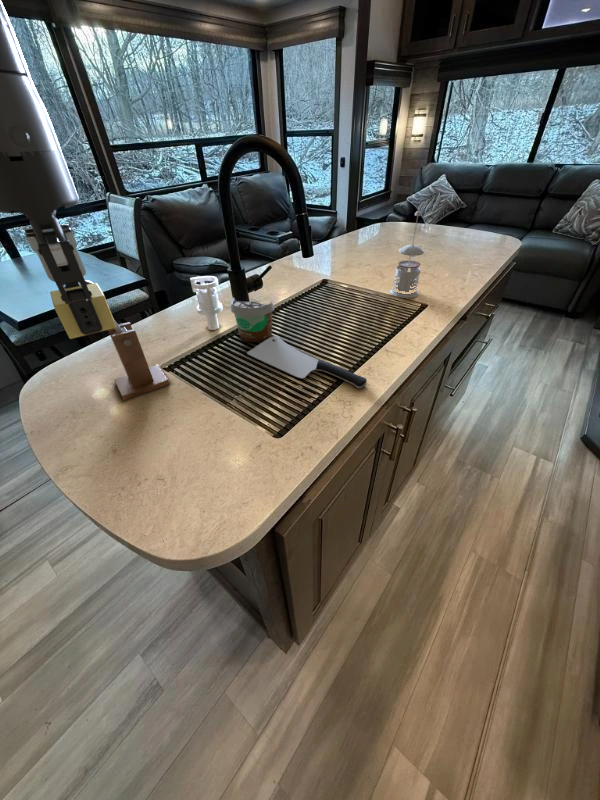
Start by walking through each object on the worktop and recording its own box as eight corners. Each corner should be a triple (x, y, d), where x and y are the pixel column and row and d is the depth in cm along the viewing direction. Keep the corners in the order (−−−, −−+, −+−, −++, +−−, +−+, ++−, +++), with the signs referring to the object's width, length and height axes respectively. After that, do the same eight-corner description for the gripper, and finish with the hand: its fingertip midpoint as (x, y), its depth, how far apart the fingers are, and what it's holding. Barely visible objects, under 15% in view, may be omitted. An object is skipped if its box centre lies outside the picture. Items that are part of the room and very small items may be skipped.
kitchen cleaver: (245, 350, 85) (272, 332, 90) (247, 356, 86) (273, 337, 91) (345, 400, 69) (372, 374, 73) (345, 405, 70) (371, 380, 75)
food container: (226, 340, 91) (220, 305, 85) (237, 330, 96) (232, 296, 89) (267, 347, 88) (264, 311, 82) (276, 336, 92) (274, 302, 86)
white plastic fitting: (198, 325, 99) (187, 274, 89) (221, 320, 101) (212, 270, 92) (205, 335, 94) (193, 282, 84) (228, 329, 96) (220, 277, 87)
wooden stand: (123, 400, 71) (98, 344, 63) (115, 383, 76) (90, 328, 68) (169, 384, 76) (151, 329, 67) (159, 368, 81) (140, 315, 72)
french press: (387, 295, 113) (399, 213, 98) (393, 284, 122) (405, 206, 106) (416, 299, 110) (434, 214, 95) (421, 287, 119) (437, 207, 103)
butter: (116, 327, 40) (104, 295, 37) (69, 339, 38) (53, 305, 35) (108, 313, 43) (96, 282, 40) (65, 323, 41) (49, 291, 38)
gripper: (-36, 145, 32) (48, 310, 43) (-54, 150, 23) (59, 358, 34) (52, 144, 36) (110, 297, 46) (68, 147, 26) (136, 337, 37)
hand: (88, 322), depth 40 cm, fingers closed on butter, 5 cm apart
